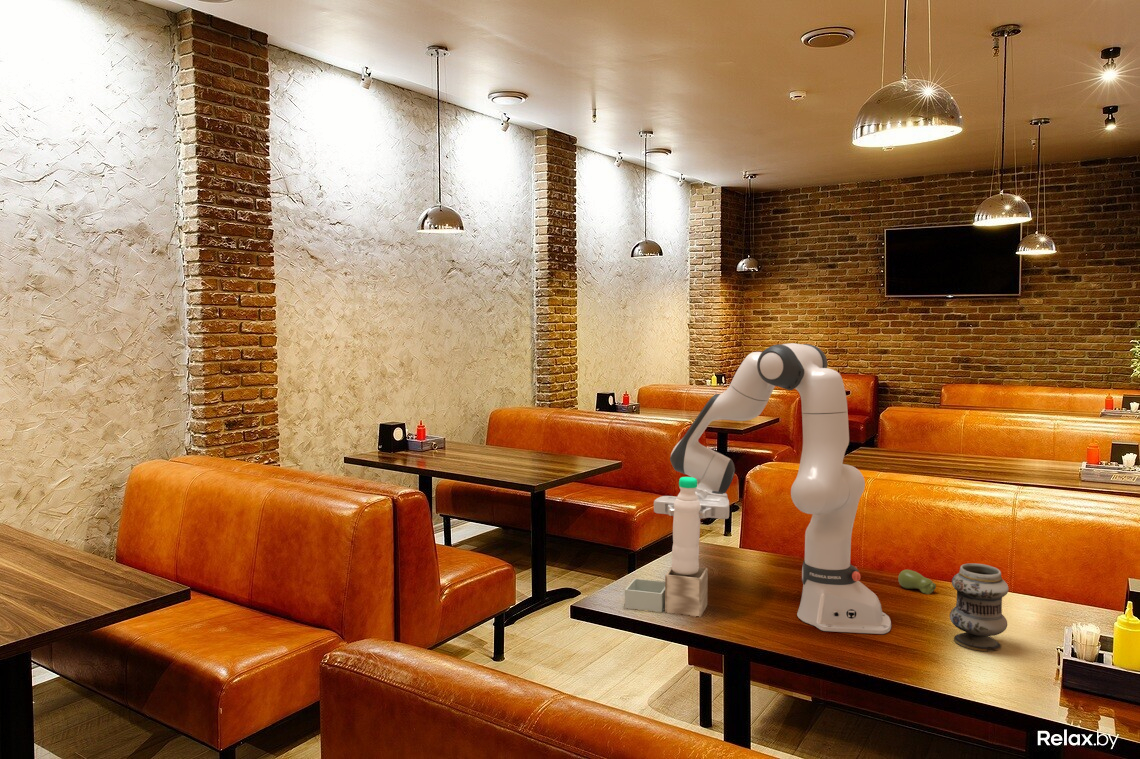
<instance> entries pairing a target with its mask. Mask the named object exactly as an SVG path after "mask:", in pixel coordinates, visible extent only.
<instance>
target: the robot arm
mask: <svg viewBox="0 0 1140 759" xmlns="http://www.w3.org/2000/svg"><path fill="white" fill-rule="evenodd" d="M776 387H778V388H781V389H785V390H787V391H792V390H794V389H795V390H796V391H797V392H798V393H799V396H800V400H801V401H800V402H801V417H802V418H801V420H802V421H801V422H802V424H801V425H802V447H801V448H802V451H801V455H800V461H799V467H798V472H797V475H796V478H795V479H794V481H793V483H792V485H791V488H790V497H791V500H792V503H793V504H794V506H795V507H796V509H798V510H799V511H800V512H801V513H805V514H807V515H811V518H810V520H809V521H810V522H809V524H808V525H807V527H806V529H805V533H804V560H803V562H802V568H801V581H802V584H803V585H802V592H801V599H800V602H799V603H800V604H799V607H798V610H797V613H796V615H797V617H798V619H800V620H801V621H802V622H803V623H806V624H809V625H811V626H814V627H816V628H817V629H818V630H820V631H823V632H837V633H856V634H872V635H873V634H875V635H876V634H877V635H885V634H887V633H889V632H890V631H891V630H892V621H891V618H890V616H889V615H888V614H886V612H883V610H882V604H881V601H880V600H879V597H878V596H877V595H876V593H874V592H873V591H872V590H871V589H869V587H867V586H866V585H865V584H864V583H862V582H861V581H860V580H861V577H862V576H861V573H860V571H859V569H858V566H856V565H855V566H854V565H852V564H851V552H852V551H851V548H852V535H853V534H852V533H853V528H854V523H855V519H856V514H857V510H858V506H859V504H860V503H859V502H860V499H861V497H862V496H863V493H864V491H865V487H866V482H865V477H864V475H863V474H862V472H861V470H860V469H858V468H856V467H855V466H853V465H850V464H845V463H844V459H845V454H846V451H847V449H848V446H849V445H850V429H849V416H848V415H849V414H848V412H849V411H848V410H849V409H848V400H847V394H846V389H845V384H844V381H843V378H842V375H841V374H840V373H839V372H838V371H837V370H835V369H832V368H828V359H827V356H826V353H824V351H823V350H822V349H820V348H819V347H818V346H815V345H813V344H809V343H803V344H802V343H801V344H800V343H794V342H792V343H791V342H790V343H782V344H780V343H779V344H773V345H772V346H768V347H767V348H766V349H764V350H763V351H753V352H751V353H749V354H748V355H746V357H745V358H744V359H743V360H742V362H741V363H740V365H739V367H738V368H737V370H736V372H735V374H734V376H733V377H732V380H731V381H730V384H729V386H728V387H727V389H726V390H725V391H724V392H722V393H718V394H717V393H715V394H714V395H713V396H712V397H711V398H709V400H708V401H707V402H706V404H705V405H704V407H703V408H702V410H701V411H700V412H699V413H698V415H697V416H696V418H695V419H694V421H693V422H692V424H691V425H690V427H689V428H688V430H687V431H686V432H685V434H684V435H683V437H682V438H681V439H680V440H679V441H678V442H677V443H676V444H675V446H674V447H673V449H672V451H671V453H670V458H669V460H670V463H671V465H672V468H673V470H674V471H676V472H678V473H681V474H683V475H687V477H693V478H695V479H697V487H696V489H695V493H696V495H697V497H698V500H699V502H700V504H701V509H700V511H699V518H700V520H701V519H708V518H710V519H721V520H727V519H729V517H730V500H729V498H728V494H727V491H728V489H729V487H731V484H732V482H733V480H734V477H735V473H736V468H735V463H734V462H733V459H732V458H730V457H728V456H726V455H724V454H722V453H720V452H718V451H716V450H714V449H711V448H709V447H707V446H705V445H703V444H701V443H700V442H699V439H700V438H701V437H702V434H704V432H705V430H707V428H708V426H709V425H710V424H711V423H712V422H713V421H718V420H719V421H720V420H722V421H723V420H724V421H725V420H727V421H735V422H744V421H745V422H746V421H750V420H753V419H756V418H757V417H758V416H760V415H761V414H762V412H763V411H764V409H765V408H766V406H767V404H768V402H769V400H770V398H771V395H772V393H773V391H774V390H775V388H776ZM676 498H677V496H673V495H662V496H659V497H657V498H656V499H654V500H653V512H654V513H656V514H661V515H668V516H670V517H671V516H672V517H674V502H675V500H676Z"/></svg>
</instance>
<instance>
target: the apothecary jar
mask: <svg viewBox="0 0 1140 759" xmlns="http://www.w3.org/2000/svg"><path fill="white" fill-rule="evenodd" d="M951 585H952V587H953V588H954V590H955V591H956V603H955V606H954V607H953V608H952V609H951V610H950V613H949V619H950V622H951V623H952V625H954V626H955V628H957V629H959V630H960V631H962V632H961V633H958V634H956V635H955V636H954V637H953V641H954V642H955V643H956V644H958V645H959V646H961V647H963V648H965V649H969V650H973V651H978V652H990V651H994V652H995V651H999V650H1001V648H1002V646H1001V644H1000V642H999V641H998V640H996V639H994V638H993V636H994V637H995V636H997V635H1001V634H1002V633H1004V632H1006V630H1007V628H1008V620H1007V619H1006V617H1005V615H1003V609H1002V608H1003V606H1002V605H1003V598H1004V597H1005V596H1007V594H1008V593H1009V586H1008V583H1007V582H1006V581H1005V580H1004V579H1003V578H1002V571H1001V570H1000V569H999V568H997V567H994V566H992V565H988V564H984V563H974V562H973V563H964V564H962V565H960V567H959V571H958V573H956V574H955V575H954V576H953V577H952V579H951Z"/></svg>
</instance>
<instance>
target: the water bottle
mask: <svg viewBox="0 0 1140 759" xmlns="http://www.w3.org/2000/svg"><path fill="white" fill-rule="evenodd" d="M678 480H679V481H678V487H679V489H680V491H679V493H678V494H677V496H676V497H677V498H676V500H675V502H674V516H673V519H672V520H673V522H672V542H673V543H672V548H671V552H672V559H671V567H672V570H673V571H674V572H675V573H677V574H681V575H693V574H695V573H697V572H698V569H699V567H700V565H699V564H700V563H699V557H700V556H699V555H700V547H699V544H700V537H701V536H700V533H701V519H700V518H699V511H700V509H701V504H700V502H699V500H698V497H697V495H696V493H695V489H696V487H697V479H695V478H693V477H690V476H681V477H680V478H679V479H678Z"/></svg>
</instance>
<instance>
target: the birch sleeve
mask: <svg viewBox="0 0 1140 759" xmlns="http://www.w3.org/2000/svg"><path fill="white" fill-rule="evenodd" d="M664 576H665V577H664V582H665V609H664V613H665V612H667V613H666V614H672V613H675V614H674V615H680V614H683V615H682V616H688V615H690V616H689V617H696V616H699V617H698V618H701V617H702V616H703V614H704V612H705V610H706V608H707V606H708V568H707V567H700V566H699V569H698V572H697V573H695V574H693V575H681V574H677V573H675V572H674V571H673V570H672V566H670V568H669V569H668V571H667V572H666V573H665V574H664Z"/></svg>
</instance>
